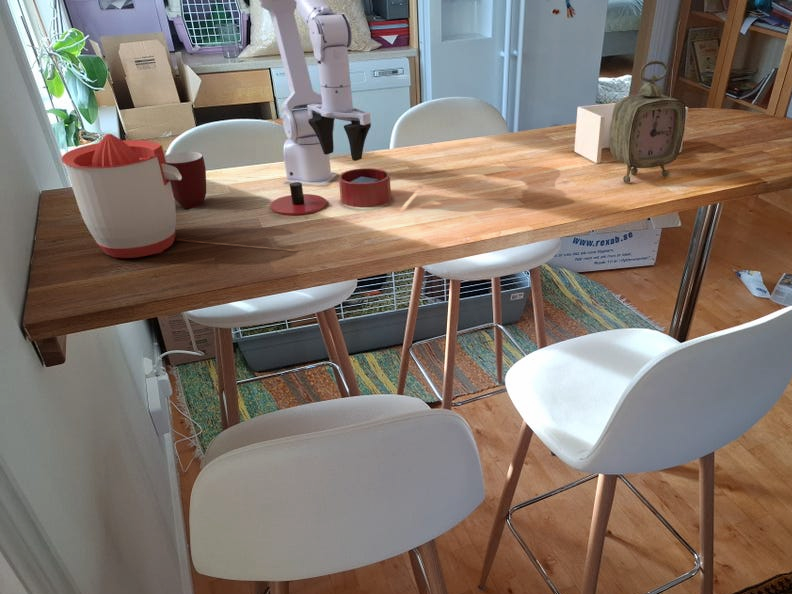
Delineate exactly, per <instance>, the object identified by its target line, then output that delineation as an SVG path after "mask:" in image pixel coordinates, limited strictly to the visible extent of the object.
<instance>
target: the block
mask: <svg viewBox="0 0 792 594" xmlns="http://www.w3.org/2000/svg"><path fill="white" fill-rule="evenodd" d="M377 181H379V179H373V178H367V177H359V178H357V179H355V180H353V181H351V182H352V183H371V182H377Z"/></svg>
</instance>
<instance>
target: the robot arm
mask: <svg viewBox="0 0 792 594" xmlns="http://www.w3.org/2000/svg"><path fill="white" fill-rule="evenodd" d="M258 2H259V6H260V7H261V8H263V9H265V10H266V11H268V13H269V17H270V20H271V23H272V26H273V30H274V34H275V38H276V43H277V46H278V50H279V54H280V58H281V63H282V67H283V70H284V72H285V78H286V81H287V85H288V89H289V93H290V94H289V95H288V96H287V98H286V99H285V100H284V101H283V102H282V104H281V108H280V111H281V116H282V127H283V130H284V133H285V135H286V138H288V139H286V140H285V142H284V144H283V149H282V150H283V152H282V153H283V160H284V167H285V175H286V180H285V182H289V183H293V182H300V183H302V184H303V183H304V184H319V185H326V184H327V183H329V182H330V181H331V180H332V179H333V178H335V177H336V176H339V173H338V172H332V168H331V161H330V160H331V159H330V154H332V153H334V147H335V146H334V130H335V120H340V121H345V122H350V123H347V124H343V129H344V131H345V133H346V136H347V140H348V144H349V151H350V156H351V160H352V161H353V162H357V161H360V160H362V158H363V151H364V146H365V141H366V139H367V136H368V134H369V131H370V130H371V127H372V122H371V112H368V111H364V110H361V109H359V108H356V107H354V105H353V95H352V83H351V73H350V72H351V71H350V62H349V51H348V48H350V47H351V45H352V40H353V33H352V26H351V23H350V20H349V18H348V16H347V15H346V13H344V12H335V11H334V9H333V8H332V7H331V5H330V4H329V2H328V1H327V0H258ZM295 10H296V12H297V14H298V16H299V18H300V19H301V20H302V22H303V23H304V24H305V26H306V28H307V29H308V35H309V39H310V43H311V46H312V50H313V55H314V59H315V60H317V69H318V78H319V86H320V87H319V88H320V94H319V93H318V92H316V91H315V90H314V88H313V85H312V80H311V76H310V73H309V70H308V69H309V68H308V64H307V60H306V56H305V52H304V47H303V45H302V39H301V36H300V32H299V27H298V23H297V19H296V15H295Z"/></svg>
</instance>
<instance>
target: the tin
mask: <svg viewBox="0 0 792 594" xmlns="http://www.w3.org/2000/svg"><path fill="white" fill-rule="evenodd" d="M359 177H367V178H373V179H379V181H377V182H371V183H352V182H351V181H353V180H355V179H357V178H359ZM338 187H339V195H340V202H341V203H342V205H343V204H344V205H346V206H348V207H353V208H374V207H379V206H383V205H385V204H387V203H389V202H390V201H391V200H392V191H391V189H392V188H391V174H390V172H388V171H386V170H383V169H381V168H374V167H373V168H371V167H363V168H361V167H360V168H353V169H349V170H346V171H344V172H341V173H340V174H338Z"/></svg>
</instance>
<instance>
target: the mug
mask: <svg viewBox="0 0 792 594" xmlns="http://www.w3.org/2000/svg"><path fill="white" fill-rule="evenodd" d="M164 156H165V160H166V164H167V165H170V166H173V167H176V168H177V169H178V171H179V173H180V174H181V176H182V179H181V180H170V183H171V187H172V191H173V196H174V200H175V202H177V203H178V204H179V205H180V206H181V208H183V209H184V210H185V209H186V210H190V209H193V208H195V207H198V206H202V205H203V204H204V202H205V199H206V195H207V169H206V163H205V158H204V155H203V154H202V153H201V152H198V151H177V152H172V153H168V154H164Z"/></svg>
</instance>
